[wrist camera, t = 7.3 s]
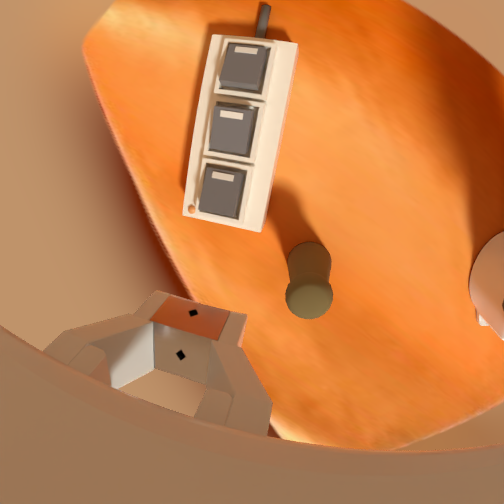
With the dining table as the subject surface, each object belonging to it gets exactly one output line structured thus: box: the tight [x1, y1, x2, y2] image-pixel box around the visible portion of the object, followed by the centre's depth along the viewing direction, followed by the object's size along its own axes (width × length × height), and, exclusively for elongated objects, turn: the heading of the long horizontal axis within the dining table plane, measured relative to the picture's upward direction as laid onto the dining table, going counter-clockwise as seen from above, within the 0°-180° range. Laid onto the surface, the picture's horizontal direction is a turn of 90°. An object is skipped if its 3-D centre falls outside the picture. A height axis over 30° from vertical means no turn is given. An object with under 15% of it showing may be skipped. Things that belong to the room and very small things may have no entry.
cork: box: [285, 242, 333, 319], centre depth 36 cm, size 6×6×11 cm
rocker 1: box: [219, 44, 267, 90], centre depth 28 cm, size 4×5×2 cm
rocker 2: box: [210, 105, 255, 154], centre depth 31 cm, size 4×5×2 cm
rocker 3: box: [198, 167, 244, 217], centre depth 34 cm, size 4×5×2 cm
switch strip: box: [183, 5, 299, 233], centre depth 33 cm, size 10×29×6 cm, turn 169°
